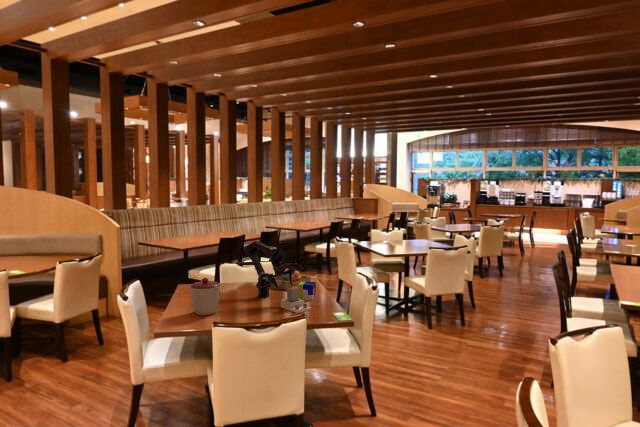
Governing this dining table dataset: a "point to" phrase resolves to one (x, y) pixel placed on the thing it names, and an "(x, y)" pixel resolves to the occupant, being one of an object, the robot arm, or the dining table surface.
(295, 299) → the grey tall block
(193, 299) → the canister
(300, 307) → the chassis
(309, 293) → the puzzle toy
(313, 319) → the dining table surface
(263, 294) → the robot arm
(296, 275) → the toy bolts
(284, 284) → the bolt corral
